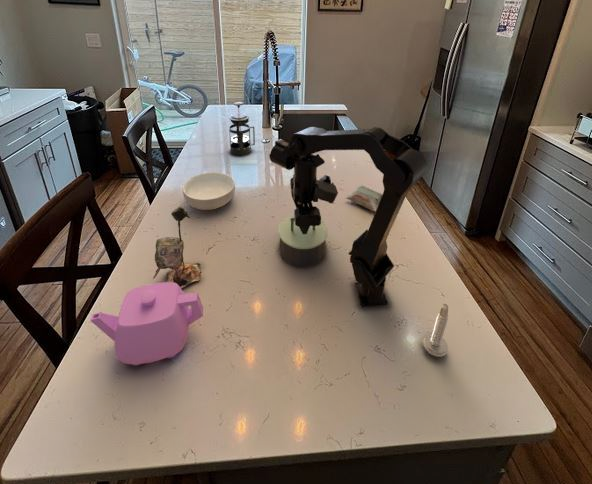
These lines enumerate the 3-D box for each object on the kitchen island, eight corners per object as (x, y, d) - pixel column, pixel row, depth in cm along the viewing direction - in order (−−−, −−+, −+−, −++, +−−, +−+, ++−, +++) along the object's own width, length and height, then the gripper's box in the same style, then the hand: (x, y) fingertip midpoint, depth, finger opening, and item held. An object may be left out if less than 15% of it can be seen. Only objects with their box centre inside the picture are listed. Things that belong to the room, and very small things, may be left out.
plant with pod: (159, 267, 86) (148, 203, 78) (204, 263, 87) (197, 200, 79) (151, 293, 78) (137, 226, 71) (200, 289, 80) (191, 222, 72)
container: (328, 265, 88) (329, 246, 85) (280, 267, 87) (281, 248, 84) (320, 233, 99) (321, 216, 97) (279, 235, 98) (279, 217, 96)
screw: (426, 363, 65) (416, 339, 70) (450, 361, 65) (439, 338, 70) (439, 317, 60) (428, 294, 64) (465, 316, 60) (451, 293, 65)
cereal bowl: (197, 224, 101) (195, 205, 99) (177, 199, 113) (174, 182, 110) (244, 204, 112) (244, 186, 109) (221, 183, 123) (220, 167, 121)
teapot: (205, 305, 76) (200, 263, 71) (205, 359, 65) (199, 314, 60) (110, 322, 71) (98, 279, 66) (92, 384, 60) (76, 338, 55)
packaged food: (374, 217, 107) (376, 204, 105) (344, 202, 114) (345, 190, 112) (386, 205, 113) (388, 193, 111) (357, 192, 120) (358, 180, 118)
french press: (229, 157, 142) (226, 107, 133) (227, 148, 151) (224, 100, 142) (256, 154, 145) (255, 105, 136) (253, 145, 154) (251, 98, 145)
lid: (331, 249, 85) (333, 234, 83) (279, 252, 84) (279, 236, 82) (323, 216, 97) (324, 202, 95) (277, 218, 96) (277, 203, 94)
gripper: (344, 195, 76) (339, 248, 82) (329, 157, 93) (326, 203, 99) (296, 197, 75) (294, 250, 81) (290, 158, 92) (289, 204, 98)
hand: (303, 225), depth 90 cm, fingers open, 7 cm apart
